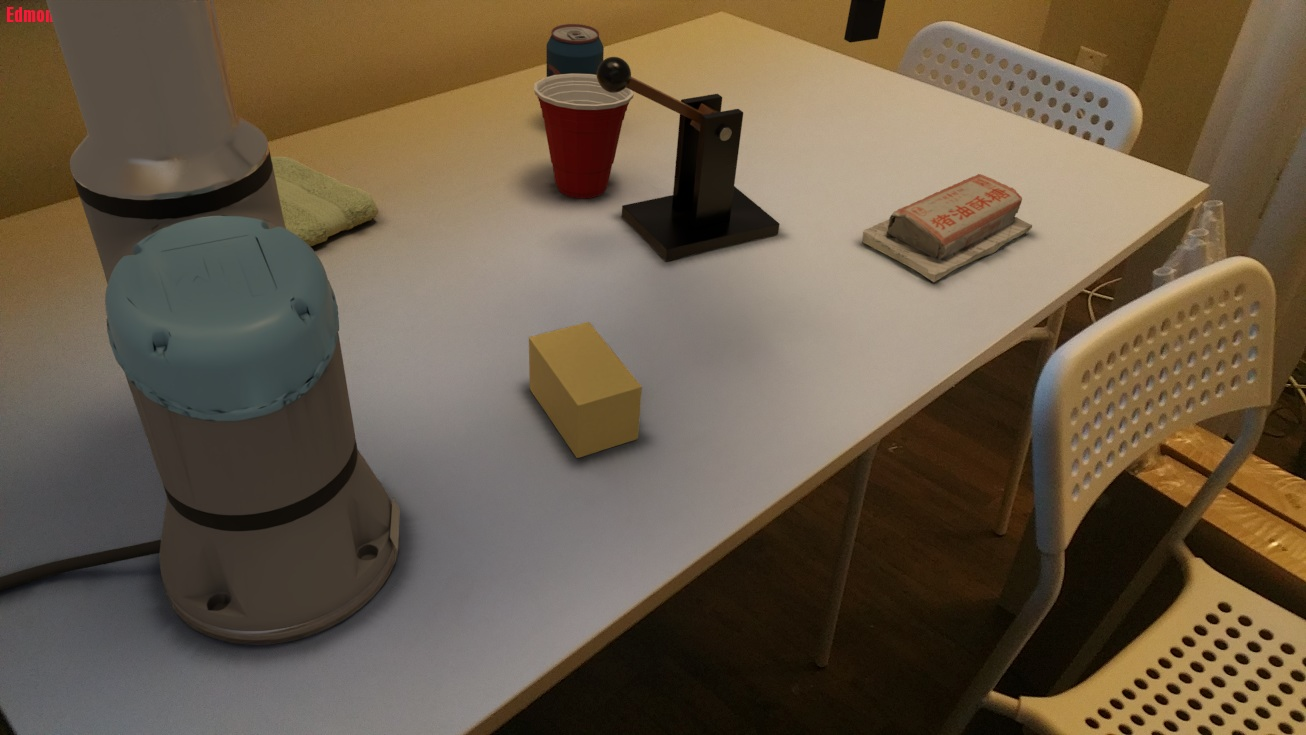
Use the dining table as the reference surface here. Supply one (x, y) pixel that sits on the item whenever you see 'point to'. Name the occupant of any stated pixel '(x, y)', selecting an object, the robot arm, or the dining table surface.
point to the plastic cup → (581, 130)
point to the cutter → (702, 192)
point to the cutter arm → (644, 89)
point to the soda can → (574, 50)
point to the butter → (584, 389)
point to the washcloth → (318, 202)
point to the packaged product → (950, 227)
